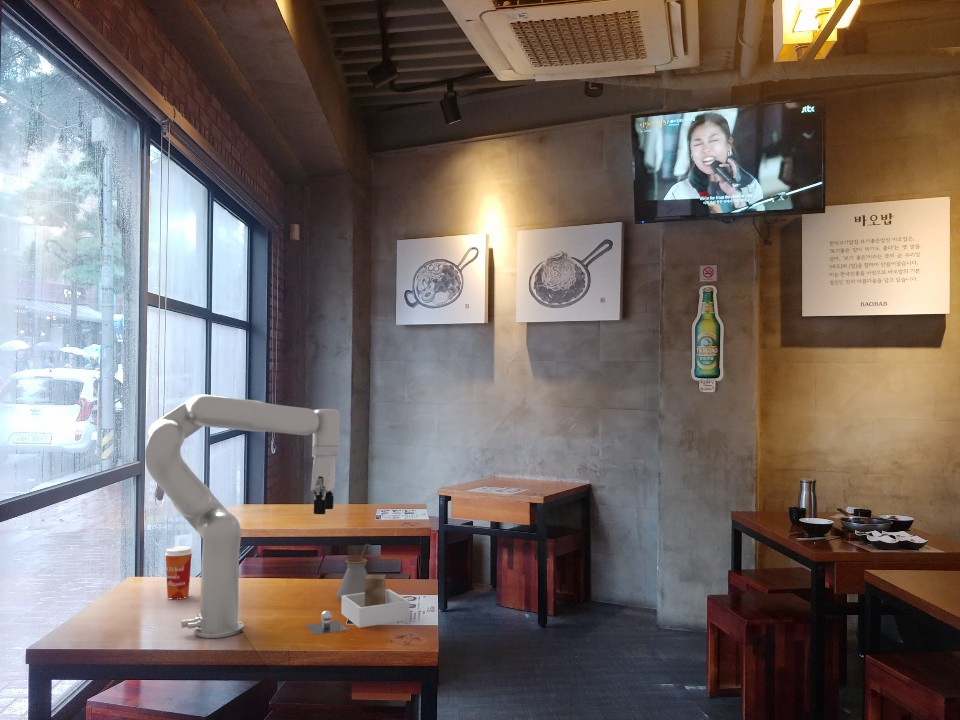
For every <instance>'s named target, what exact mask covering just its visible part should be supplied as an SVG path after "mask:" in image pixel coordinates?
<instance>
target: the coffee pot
mask: <svg viewBox="0 0 960 720" xmlns="http://www.w3.org/2000/svg"><path fill="white" fill-rule="evenodd" d="M369 546H370V547H369ZM368 547H369V548H368ZM371 547H372V546H371V544H369V543H365V544H364V545H363V550H362V551H361V556H360V557H353V558H348V559H346V560H345V563H346V565H347V569H346V571H345V573H344V575H343V577H342V581H341V583H340V585H339V587H338V590H337V592H336V596H337V599H338V600H339V601H340V602H341V598H342V596H343V595H350V594H357V593H365V578H366V577H367V575H369V574H368V571H367V569H366V564H367V563H368V562H369V561H368V559H366V558H365V557H366V554H367V550H370V549H371Z"/></svg>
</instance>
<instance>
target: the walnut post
mask: <svg viewBox="0 0 960 720" xmlns="http://www.w3.org/2000/svg"><path fill="white" fill-rule="evenodd" d="M385 590H386V574H368V575H367V577H366V578H365V607H367V606H374V605H381V604H385Z"/></svg>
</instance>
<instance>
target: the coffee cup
mask: <svg viewBox="0 0 960 720" xmlns="http://www.w3.org/2000/svg"><path fill="white" fill-rule="evenodd" d="M193 553H194V552H193V550H192V547H190V546H185V545H184V546H173V547H169V548H166V550H165V553H164V556H165V569H166V571H165V572H166V591H167V592H166V594H167V599H168V598H172V599H177V598H178V600H180V599H179V598H184V597H187V596H188V597H189V591H190V580H191V567H192V555H193ZM188 597H187V598H188ZM184 599H185V598H184Z"/></svg>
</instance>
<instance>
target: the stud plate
mask: <svg viewBox="0 0 960 720" xmlns="http://www.w3.org/2000/svg"><path fill="white" fill-rule="evenodd" d="M332 615H333V613H332V612H331V611H329V610H324V611H322V612H321V615H320V618H321V620H322V622H319V623H312V624H306V625H305V624H304V626H305V627H306V628H307V630H309V631H310V633H312V634H313V635H314V636H317V635H325V634H330V633H335V632H336V633H337V632H344V631H348V627H345V625H344V624H343V623H341V622H340V621H338V620H332V618H333V617H332ZM331 620H332V621H331Z"/></svg>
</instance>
